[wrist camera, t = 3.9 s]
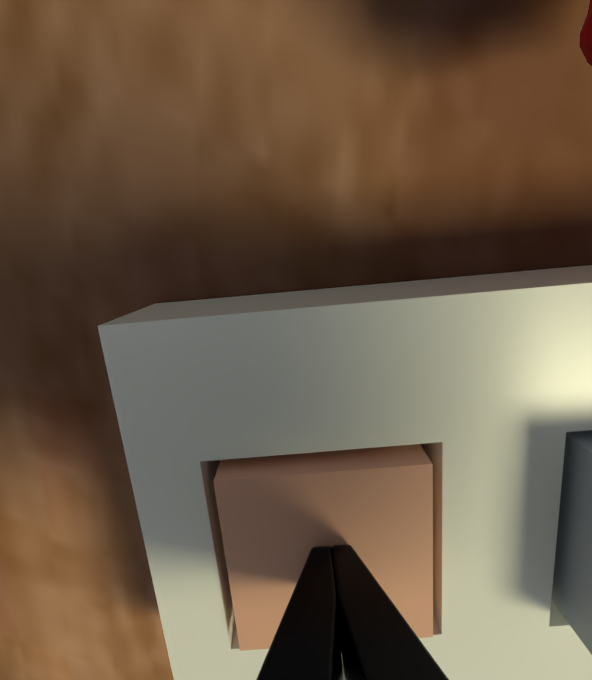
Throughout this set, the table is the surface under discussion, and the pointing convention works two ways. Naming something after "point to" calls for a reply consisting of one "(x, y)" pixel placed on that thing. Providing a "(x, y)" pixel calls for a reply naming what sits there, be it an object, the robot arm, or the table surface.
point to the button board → (368, 444)
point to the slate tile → (575, 537)
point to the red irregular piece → (587, 36)
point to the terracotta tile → (326, 528)
